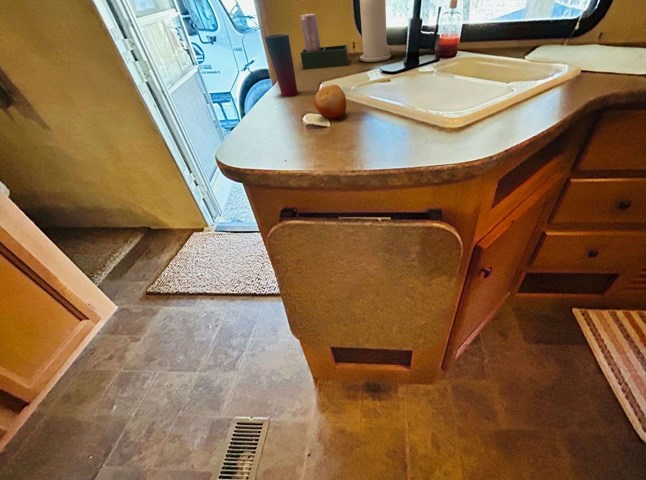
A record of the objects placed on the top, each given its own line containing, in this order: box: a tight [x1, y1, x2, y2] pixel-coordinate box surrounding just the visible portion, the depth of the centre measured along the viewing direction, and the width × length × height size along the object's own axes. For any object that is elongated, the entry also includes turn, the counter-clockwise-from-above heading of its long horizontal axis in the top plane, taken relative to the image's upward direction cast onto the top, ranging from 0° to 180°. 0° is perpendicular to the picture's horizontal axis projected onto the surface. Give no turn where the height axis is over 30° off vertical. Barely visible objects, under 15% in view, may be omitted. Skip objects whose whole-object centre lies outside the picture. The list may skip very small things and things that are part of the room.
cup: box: [264, 32, 298, 98], centre depth 94 cm, size 7×7×15 cm
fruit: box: [313, 84, 347, 120], centre depth 79 cm, size 8×8×8 cm
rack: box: [299, 44, 350, 70], centre depth 125 cm, size 18×9×5 cm, turn 90°
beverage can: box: [299, 13, 322, 52], centre depth 121 cm, size 6×6×15 cm
